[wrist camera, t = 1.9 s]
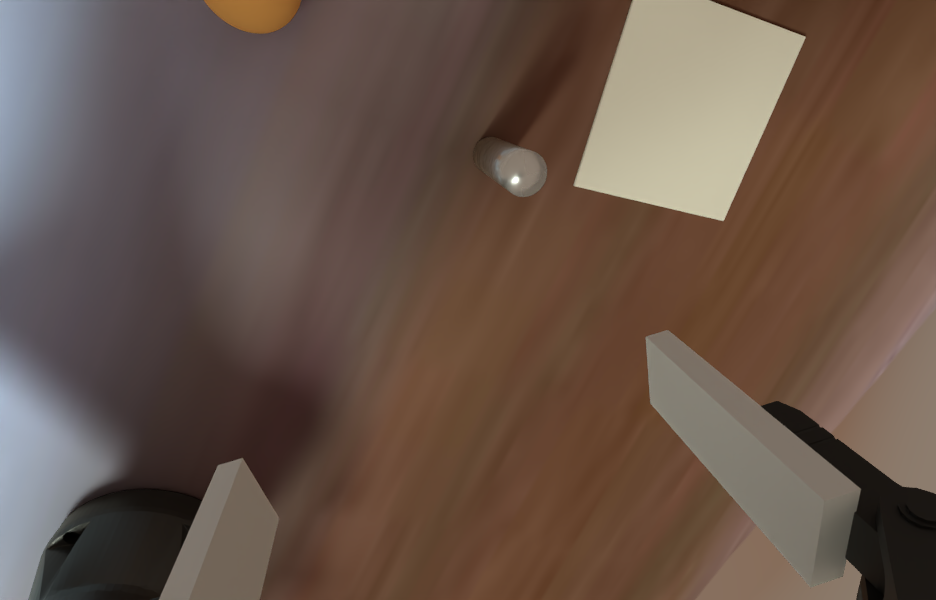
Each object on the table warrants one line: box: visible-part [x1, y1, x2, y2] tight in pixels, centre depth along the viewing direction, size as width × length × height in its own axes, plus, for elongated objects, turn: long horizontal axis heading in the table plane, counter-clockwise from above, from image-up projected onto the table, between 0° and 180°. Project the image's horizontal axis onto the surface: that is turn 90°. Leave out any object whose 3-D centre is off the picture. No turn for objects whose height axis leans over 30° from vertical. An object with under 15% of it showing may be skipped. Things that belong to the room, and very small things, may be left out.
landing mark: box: [573, 0, 806, 221], centre depth 35 cm, size 14×14×1 cm
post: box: [473, 137, 547, 197], centre depth 29 cm, size 2×2×9 cm
